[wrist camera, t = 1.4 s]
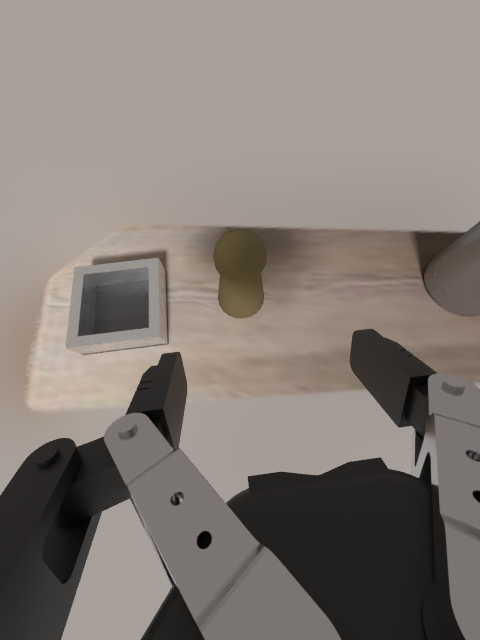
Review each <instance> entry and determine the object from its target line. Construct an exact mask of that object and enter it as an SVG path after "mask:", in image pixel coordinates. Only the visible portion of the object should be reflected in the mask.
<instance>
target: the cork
mask: <svg viewBox="0 0 480 640" xmlns="http://www.w3.org/2000/svg"><path fill="white" fill-rule="evenodd" d="M213 258H214V263H215V267H216V269H217V270H218V272H219V274H220V283H219V296H218V300H219V304H220V306H221V308H222V310H223V311H224V312H225V313H227V314H228V315H229V316H232V317H235V318H247V317H250V316H252V315H254V314H256V313H257V312H258V311H259V309H260V308H261V306H262V304H263V300H264V294H263V286H262V279H261V272H262V271H263V269H264V266H265V264H266V250H265V247H264V244H263V242H262V241H261V240H260V238H259V237H257V236H256V235H254V234H253V233H251V232H248V231H245V230H236V231H231V232H229V233H227V234H225V235H224V236H223V237H222V238H221V239H220V240H219V241H218V242H217V244H216V246H215V249H214V255H213Z"/></svg>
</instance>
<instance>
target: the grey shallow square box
mask: <svg viewBox="0 0 480 640" xmlns="http://www.w3.org/2000/svg"><path fill="white" fill-rule="evenodd" d="M165 344H168V319H167V286H166V271H165V269H164V267H163V265H162V263H161V262H160V260H159V258H151V259H142V260H134V261H125V262H116V263H108V264H99V265H90V266H82V267H75V269H74V278H73V287H72V296H71V305H70V314H69V323H68V332H67V341H66V349H69V350H72V351H75V352H78V353H80V354H83V355H86V354H94V353H102V352H110V351H118V350H126V349H134V348H142V347H150V346H158V345H165Z"/></svg>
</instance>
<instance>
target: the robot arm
mask: <svg viewBox="0 0 480 640" xmlns="http://www.w3.org/2000/svg"><path fill="white" fill-rule="evenodd" d="M424 282H425V285H426V288H427V290H428V292H429V293H430V295H431V296H432V297H433V299H434V300H435V301H436V302H437V303H439V304H440V305H441V306H442V307H444V308H445V309H447V310H449V311H451V312H453V313H456V314H460V315H464V316H476V315H480V222H478V223H477V224H476V225H475V226H473V227H472V228H471V229H470V230H468V231H467V232H466V233H465V234H463V235H462V236H461V237H460V238H458V239H457V240H456V241H455V242H453V243H452V244H451V245H450V246H448V247H447V248H446V249H445V250H444V251H442V252H441V253H440V254H439V255H437V256H436V257H435V258H434V259H432V260H431V261H430V262H429V263H428V265H427V267H426V269H425V273H424ZM350 365H351V369H352V371H353V372H354V374H355V375H356V376H357V377H358V379H359V380H360V381H361V382H362V384H363V385H364V386H365V387H366V388H367V390H368V391H369V392H370V393H371V395H372V396H373V397H374V398H375V399H376V401H377V402H378V403H379V404H380V406H381V407H382V408H383V409H384V410H385V412H386V413H387V414H388V415H389V416H390V417H391V419H392V420H393V421H394V423H395V424H396V425H397V426H398V427H406V426H413V427H414V429H415V430H414V434H413V448H412V475H409V474H407V473H404V472H400V471H396V470H391V469H388V468H387V466H386V465H385V463H384V462H383V460H382V459H381V458H374V459H367V460H361V461H353V462H348V463H346V464H343V465H341V466H339V467H337V468H335V469H332V470H330V471H328V472H326V473H324V474H321V475H306V474H297V473H287V472H276V473H269V474H262V475H255V476H248V482H249V488H248V489H246V490H244V491H242V492H240V493H239V494H237V495H235V496H234V497H233V498H231V499H230V500H229V501H228V502H227V503H225V502H224V501H223V500H222V498H221V497H220V496H219V495H218V493H217V492H216V491H215V490H214V489H213V487H212V486H211V485H210V484H209V482H208V481H207V480H206V479H205V478H204V476H203V475H202V474H201V473H200V472H199V471H198V469H197V468H196V467H195V465H194V464H193V463H192V462H191V461H190V460H189V458H188V457H187V456H186V455H185V453H184V452H183V451H182V450H181V449H180V448H178V447H179V441H180V435H181V428H182V422H183V416H184V409H185V403H186V397H187V381H186V376H185V372H184V367H183V362H182V358H181V354H180V352H173V353H165V354H162V355H161V358H160V361H159V364H158V365H157V366H151V367H150V368H149V369H148V370H147V371H146V372H145V373H144V374H143V376H142V378H141V380H140V384H139V385H138V387H137V391H136V392H135V394H134V397H133V399H132V401H131V403H130V406H129V408H128V410H127V413H126V415H125V416H123V417H121V418H119V419H117V420H116V421H115V422H113V423H112V424H111V425H110V426H109V427H108V429H107V430H106V433H105V435H104V437H102V438H99V439H97V440H94V441H92V442H89V443H86V444H83V445H81V446H78V447H76V445H75V443H74V441H73V440H71V439H69V438H60V439H56V440H53V441H50V442H48V443H46V444H44V445H42V446H41V447H39V448H38V449H36V450H35V451H34V452H33V453H31V455H29V456H28V457H27V458H26V460H25V461H24V462H23V464H22V465H21V466H20V468H19V469H18V471H17V472H16V474H15V475H14V477H13V478H12V479H11V481H10V482H9V484H8V485H7V487H6V488H5V490H4V491H3V493H2V494H1V495H0V640H61V637H62V635H63V631H64V628H65V625H66V622H67V619H68V616H69V613H70V610H71V606H72V603H73V600H74V597H75V594H76V591H77V588H78V585H79V582H80V578H81V575H82V572H83V569H84V566H85V563H86V560H87V556H88V553H89V550H90V547H91V544H92V541H93V538H94V535H95V532H96V529H97V525H98V522H99V519H100V516H101V513H102V511H104V510H106V509H108V508H110V507H112V506H114V505H117V504H119V503H121V502H123V501H125V500H127V499H129V498H130V500H131V502H132V504H133V506H134V508H135V510H136V512H137V514H138V516H139V518H140V521H141V523H142V525H143V527H144V529H145V531H146V533H147V535H148V537H149V539H150V541H151V543H152V545H153V547H154V550H155V552H156V554H157V556H158V558H159V560H160V562H161V564H162V567H163V569H164V571H165V573H166V575H167V577H168V579H169V581H170V583H171V585H172V588H171V590H170V592H169V593H168V595H167V597H166V598H165V600H164V602H163V603H162V605H161V607H160V608H159V610H158V612H157V614H156V615H155V617H154V618H153V620H152V622H151V623H150V625H149V627H148V628H147V630H146V632H145V633H144V635H143V637H142V638H141V640H480V389H478V387H477V386H476V385H474V384H473V383H472V382H470V381H468V380H466V379H464V378H462V377H459V376H456V375H452V374H445V373H436V372H435V371H434V370H432V369H431V368H430V367H428V366H427V365H426V364H425V363H423V362H422V361H421V360H419V359H418V358H417V357H415V356H413V354H411V353H410V352H409V351H406V349H405V348H403V347H402V346H401V345H400V344H398V343H397V342H394V341H392V340H390V339H387V338H384V337H383V336H381V335H380V334H379V333H378V332H376V331H375V330H374V329H365V330H357V331H354V333H353V336H352V344H351V354H350Z"/></svg>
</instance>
